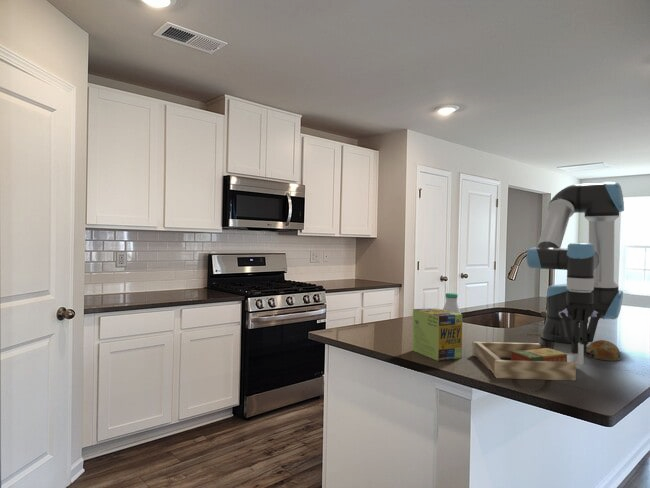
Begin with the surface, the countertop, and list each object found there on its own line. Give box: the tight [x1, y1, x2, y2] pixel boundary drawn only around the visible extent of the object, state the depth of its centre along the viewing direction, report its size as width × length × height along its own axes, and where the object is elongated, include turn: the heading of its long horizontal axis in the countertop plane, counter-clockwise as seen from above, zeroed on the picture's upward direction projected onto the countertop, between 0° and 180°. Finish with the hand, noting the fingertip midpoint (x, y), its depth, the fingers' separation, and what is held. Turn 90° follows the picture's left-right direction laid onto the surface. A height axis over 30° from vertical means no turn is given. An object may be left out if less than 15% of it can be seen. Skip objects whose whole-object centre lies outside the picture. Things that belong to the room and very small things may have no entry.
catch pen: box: [471, 341, 577, 381], centre depth 140 cm, size 23×25×5 cm
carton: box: [510, 347, 568, 362], centre depth 144 cm, size 8×16×4 cm, turn 109°
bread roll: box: [585, 339, 621, 362], centre depth 152 cm, size 10×10×8 cm
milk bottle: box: [442, 292, 462, 314], centre depth 170 cm, size 8×8×20 cm
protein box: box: [411, 307, 463, 362], centre depth 154 cm, size 10×15×16 cm
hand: (578, 363), depth 139 cm, fingers closed
